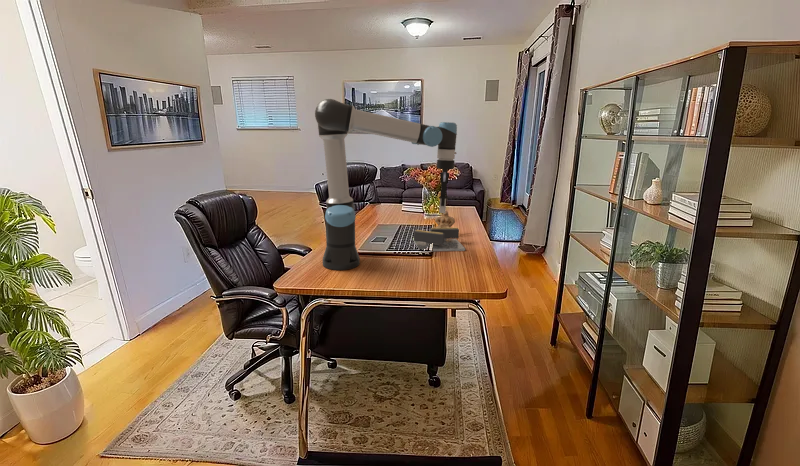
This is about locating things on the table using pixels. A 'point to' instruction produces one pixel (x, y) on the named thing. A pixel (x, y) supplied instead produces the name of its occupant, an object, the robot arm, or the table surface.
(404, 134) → the robot arm
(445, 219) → the figurine
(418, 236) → the striped dark bar
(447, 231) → the curved tan-striped slab
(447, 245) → the level plate
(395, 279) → the table surface
